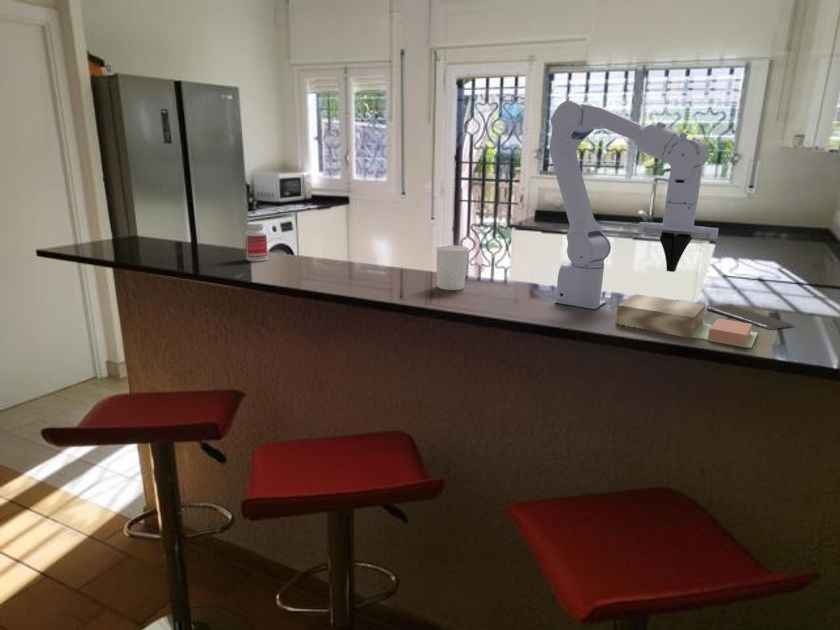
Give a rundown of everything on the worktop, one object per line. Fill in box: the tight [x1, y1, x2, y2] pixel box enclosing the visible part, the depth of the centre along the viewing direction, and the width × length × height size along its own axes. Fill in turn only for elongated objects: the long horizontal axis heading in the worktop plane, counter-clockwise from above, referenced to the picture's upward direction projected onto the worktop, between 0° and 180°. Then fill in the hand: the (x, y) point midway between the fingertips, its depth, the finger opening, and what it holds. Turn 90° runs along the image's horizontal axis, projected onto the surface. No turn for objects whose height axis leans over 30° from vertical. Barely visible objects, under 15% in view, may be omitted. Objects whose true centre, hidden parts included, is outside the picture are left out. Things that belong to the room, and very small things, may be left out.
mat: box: [691, 322, 759, 349], centre depth 109 cm, size 10×11×1 cm
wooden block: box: [615, 294, 706, 339], centre depth 115 cm, size 14×12×4 cm
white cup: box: [435, 245, 469, 291], centre depth 142 cm, size 8×8×10 cm
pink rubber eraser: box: [708, 318, 753, 345], centre depth 108 cm, size 6×9×2 cm, turn 144°
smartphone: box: [706, 304, 794, 330], centre depth 122 cm, size 7×1×16 cm
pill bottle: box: [244, 222, 268, 263], centre depth 171 cm, size 6×6×11 cm
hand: (671, 270), depth 116 cm, fingers closed
